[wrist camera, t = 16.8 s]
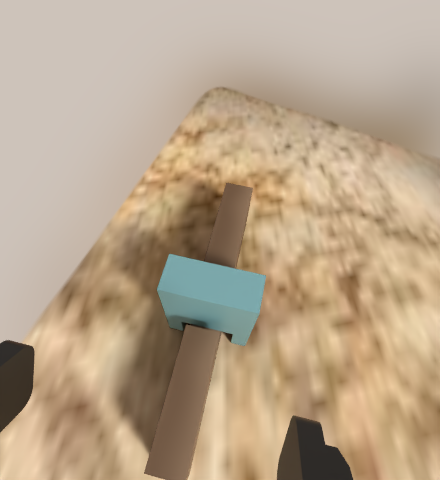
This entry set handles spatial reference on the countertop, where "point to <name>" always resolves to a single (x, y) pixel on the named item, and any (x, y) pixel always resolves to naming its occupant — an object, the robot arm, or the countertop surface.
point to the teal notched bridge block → (210, 296)
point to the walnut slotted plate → (197, 354)
